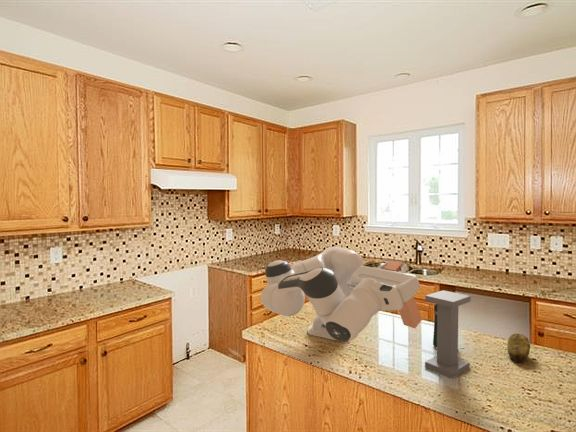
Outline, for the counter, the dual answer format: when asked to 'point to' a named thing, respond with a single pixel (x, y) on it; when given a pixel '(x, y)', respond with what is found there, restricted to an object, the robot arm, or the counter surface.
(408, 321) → the block
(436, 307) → the coffee jar
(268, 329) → the counter surface
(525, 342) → the potato
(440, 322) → the stand
